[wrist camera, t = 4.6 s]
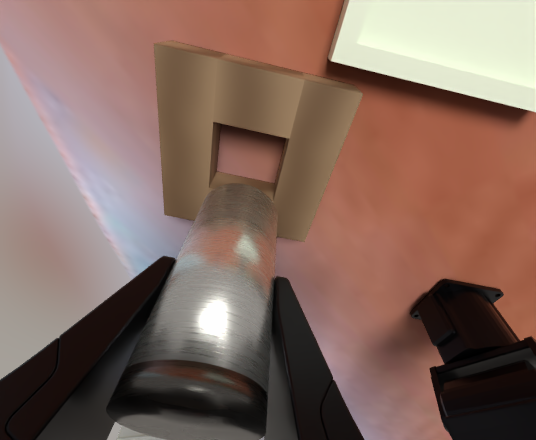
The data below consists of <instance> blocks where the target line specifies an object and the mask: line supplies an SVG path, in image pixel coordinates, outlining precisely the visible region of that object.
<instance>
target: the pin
mask: <svg viewBox="0 0 536 440" xmlns="http://www.w3.org/2000/svg"><path fill="white" fill-rule="evenodd" d="M277 220H278V215H277V210H276V207H275V205H274V203H273V202H272V200H271V199H270V198H269V197H268V196H267V195H266V194H265V193H264V192H262V191H261V190H259V189H257V188H255V187H252V186H250V185H246V184H240V183H232V184H225V185H222V186H219V187H217V188H215V189H214V190H212V191H211V192H210V193H209V194H208V195H207V196H206V198H205V200H204V202H203V204H202V206H201V208H200V210H199V212H198V214H197V216H196V218H195V221H194V223H193V225H192V227H191V229H190V231H189V233H188V235H187V238H186V240H185V242H184V244H183V246H182V248H181V250H180V252H179V254H178V257H177V259H176V261H175V263H174V265H173V267H172V269H171V271H170V274H169V276H168V278H167V280H166V282H165V284H164V286H163V288H162V290H161V293H160V295H159V297H158V299H157V301H156V303H155V305H154V307H153V310H152V312H151V314H150V316H149V318H148V320H147V322H146V324H145V326H144V329H143V331H142V333H141V335H140V337H139V339H138V341H137V343H136V345H135V348H134V350H133V352H132V354H131V356H130V358H129V360H128V362H127V365H126V367H125V369H124V371H123V373H122V375H121V377H120V379H119V381H118V384H117V386H116V388H115V390H114V392H113V394H112V396H111V398H110V401H109V403H108V405H107V407H106V412H107V414H108V415H109V417H110V418H112V419H113V420H114V421H115V422H117V423H119V424H120V425H122V426H124V427H126V428H129V429H131V430H134V431H136V432H139V433H142V434H145V435H149V436H152V437H156V438H160V439H165V440H259V439H261V438H262V437H263V436H264V435H265V434H266V424H267V406H268V387H269V369H270V350H271V332H272V313H273V295H274V276H275V257H276V239H277Z"/></svg>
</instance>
